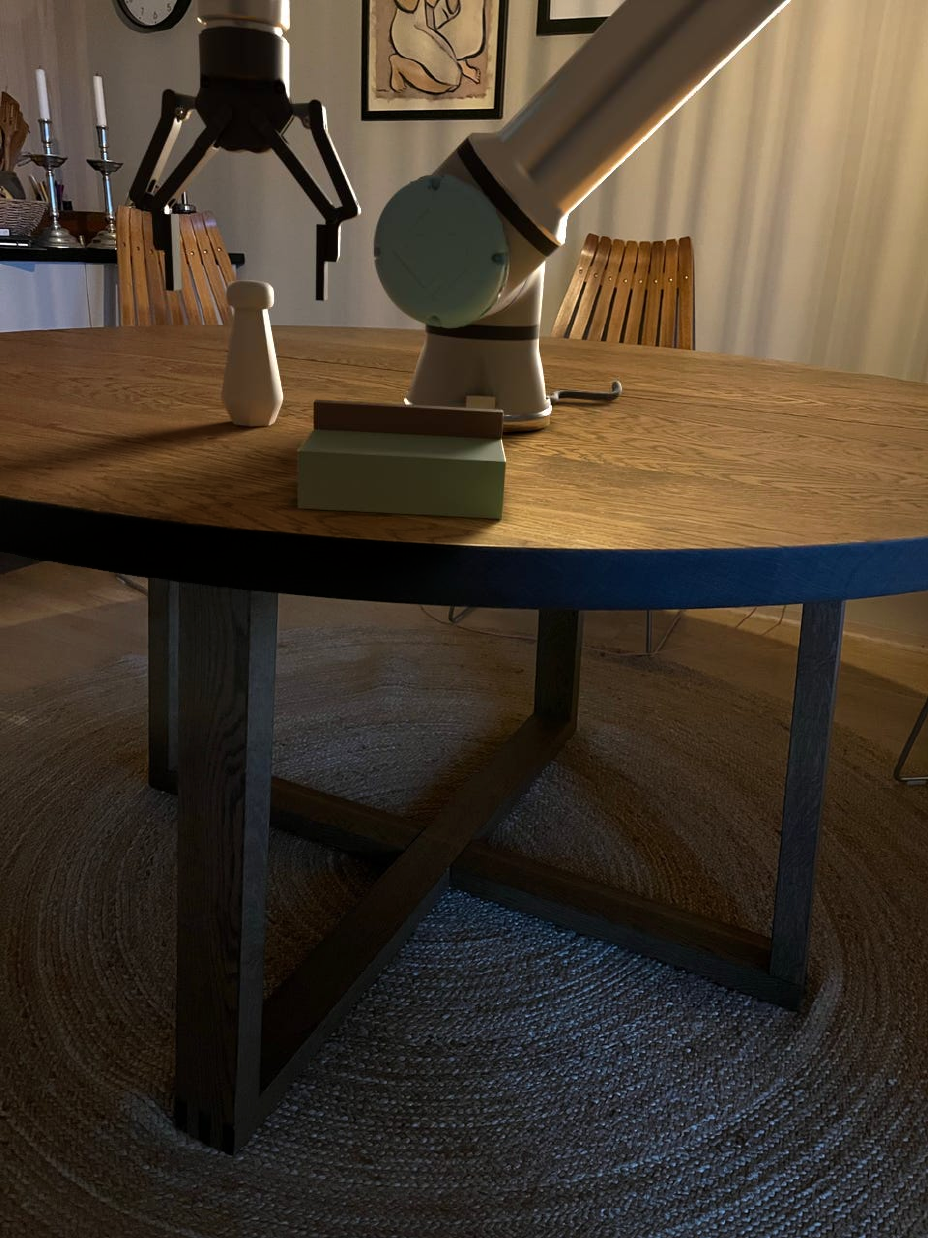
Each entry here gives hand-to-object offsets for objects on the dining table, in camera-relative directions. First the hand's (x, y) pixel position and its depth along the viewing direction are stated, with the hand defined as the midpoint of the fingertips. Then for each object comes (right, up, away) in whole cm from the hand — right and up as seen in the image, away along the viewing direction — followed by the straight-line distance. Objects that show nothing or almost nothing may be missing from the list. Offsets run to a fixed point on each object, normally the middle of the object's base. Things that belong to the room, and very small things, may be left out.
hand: (247, 295), depth 92 cm
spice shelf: (+16, -21, -20) cm, 33 cm away
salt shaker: (0, -11, +4) cm, 12 cm away
